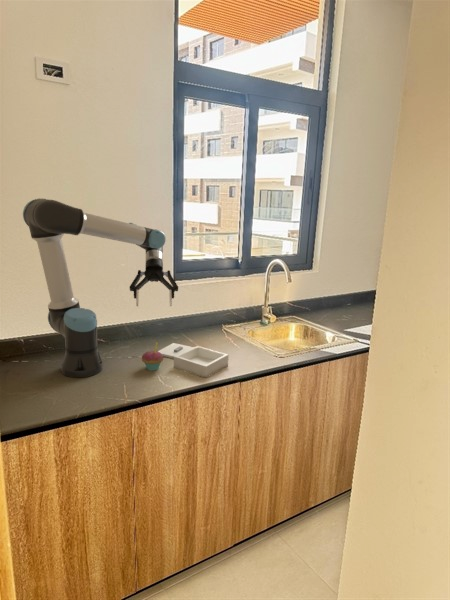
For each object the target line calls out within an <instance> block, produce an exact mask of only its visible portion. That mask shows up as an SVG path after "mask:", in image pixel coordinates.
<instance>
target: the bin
mask: <svg viewBox="0 0 450 600" xmlns="http://www.w3.org/2000/svg"><path fill="white" fill-rule="evenodd" d="M193 347H194V348H192V349H189V350H187V351H185V352H183V353H180V354H178V355H176V356H174V358H173V368H174V369H177V370H181V371H182V372H186V373H189V374H192V375H195V376H198V377H201V376H202V378H204V377H205V378H204V379H207V378H208V376H209V375H210V376H212V375H214V374H215V372H216V373H217V372H219V371H221V370H223V369H224V368H227V366H229V354H228V353H225V352H221V351H217V350H215V349H210V348H207V347H203V346H200V345H196V346H193ZM213 373H214V374H213ZM211 374H212V375H211ZM210 376H209V377H210ZM206 377H207V378H206Z"/></svg>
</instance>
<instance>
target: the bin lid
mask: <svg viewBox="0 0 450 600" xmlns="http://www.w3.org/2000/svg"><path fill="white" fill-rule="evenodd" d="M194 347H195V346H189V345H185V344H179V343H175V342H172V343H171V344H169V345H167V346H165V347H163V348H160V350H158V351H157V352H160V353H161V354H162V355H163V356H164V357H165V358H166V357H167V358H170V359H174V356H176V355H178V354H180V353H183V352H185V351H187V350H189V349H192V348H194Z"/></svg>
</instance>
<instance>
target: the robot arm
mask: <svg viewBox="0 0 450 600" xmlns="http://www.w3.org/2000/svg"><path fill="white" fill-rule="evenodd" d="M22 217H23V218H22V219H23V221H24V222H25V224H26V226H27V227H28V229H29V232H30V237H31V239H32V240H34V241H35V242H36V243H37V244H36V245H37V247H38V250H39V251H38V253H39V255H40V260H41V264H42V265H41V266H42V269H43V273H44V277H45V281H46V287H47V289H48V293H49V299H50V302H49V303H48V305H47V308H48V314H47V321H48V324H49V326H50V328H52V329H53V331H54V332H56V333H58V334H60V335H61V336H63V338H64V342H65V343H64V344H65V353H64V356H63V357H64V358H63V361H62V364H61V373H62V374H63V375H64V376H66V377H70V378H87V377H88V378H89V377H92V376H95V375H97V374H99V373H101V372H102V371H103V366H104V365H103V360H102V358H101V355H100V353H99V350H98V319H97V313H96V312H94V311H93V310H91V309H89V308H83V307H81V306H80V302H79V299H78V298H76V297H75V296H74V293H73V288H72V283H71V278H70V273H69V269H68V263H67V259H66V255H65V250H64V245H63V241H62V238H63V236H64V235H72V236H79V235H80V234H83V235H86V236H91V237H98V238H102V239H107V240H112V241H117V242H122V243H128V244H131V245H132V244H133V245H136V246H138V247H140V248H141V249H143V250H145V265H144V267H145V269H144V271H141V269H138V270H137V274H136V276H135V278H134V279H133V280H132V282H131V283H130V286H129V292H133V299H135V301H136V303H135V305H136V307H139V301H140V300H139V299H140V297H139V296H140V295H139V292H140V290H141V289H142V288H143V287H144V286H145V285H146V284H147V283H149V282H151V283H153V282H155V283H157V282H160V283H161V284H162V285H163V286H164V287H165V288H167V289H168V290H169V307H172V306H173V305H172V303H173V299H174V298H175V292H178V291H179V286H178V284H177V282H176V281H175V279H174V277H173V275H171V271H170V270H169V269H168V270H167V271H164V263H163V262H164V254H163V252H164V245H165V244H166V241H167V240H166V234H165V233H164V232H163V231H161V230H159V229H154V228H149V227H145V226H141V225H137V224H135V223H133V222H124V221H120V220H117V219H112V218H107V217H103V216H100V215H95V214H90V213H86V212H85V211H84V210H83V209H82V208H79V207H74V206H71V205H69V204H66V203H63V202H61V201H58V200H56V199H55V200H54V199H46V198H35V199H32V200H30V201H29V202H27V203H26V204H25V206H24V208H23V211H22ZM143 276H144V278H143V279H142V280H141V278H142V277H143ZM165 277H166V278H167V279H168V281H167V279H166V278H165ZM140 280H141V281H140ZM139 281H140V282H139Z"/></svg>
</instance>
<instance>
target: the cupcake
mask: <svg viewBox="0 0 450 600" xmlns="http://www.w3.org/2000/svg"><path fill="white" fill-rule="evenodd" d="M157 349H158V341H155V345H154V350H149V351H146V352H144V353H143V354H142V356H141V361H142V362H143V363H144V364H145V367H146V369H147V370H148V371H157V370H159V368H160V365H161V363H162V362H163V360H164V357H165V356H163V355H162V354H161V353H160V352H158V351H157Z"/></svg>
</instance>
